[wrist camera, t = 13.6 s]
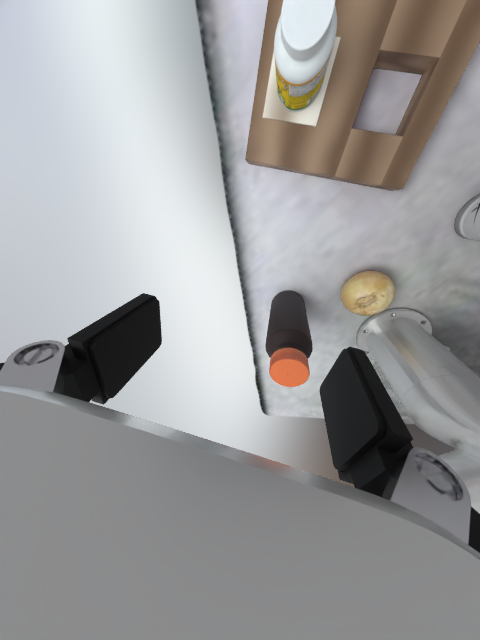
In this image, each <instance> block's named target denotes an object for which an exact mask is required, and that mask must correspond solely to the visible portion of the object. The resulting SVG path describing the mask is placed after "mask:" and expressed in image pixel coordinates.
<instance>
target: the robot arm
mask: <svg viewBox="0 0 480 640" xmlns="http://www.w3.org/2000/svg"><path fill="white" fill-rule="evenodd" d="M68 342H69V344H68V345H66V346H64V345H63V344H62V343H61V342H58V341H51V340H48V341H40V342H35V343H32V344H29V345H26V346H24V347H21V348H19V349H18V350H16V351H15V352H13V353H12V354H11V355H10V356H9V357H8V359H7V360H6V362H5V363H0V640H480V377H479V376H478V375H477V374H476V373H474V372H473V371H472V370H471V369H470V368H469V367H467V366H466V365H465V364H464V363H463V362H462V361H461V360H459V359H458V358H457V357H456V356H455V355H454V354H452V353H451V352H450V351H449V350H450V348H449V347H448V346H445V345H442V344H441V343H440V342H439V341H437V340H436V339H435V338H434V337H433V336H432V326H431V324H430V322H429V320H428V319H427V318H426V317H425V316H423V315H422V314H420V313H418V312H416V311H414V310H410V309H391V310H386V311H383V312H381V313H378V314H376V315H374V316H372V317H371V318H370V319H368V320H367V321H366V322H365V323H364V324H363V325H362V326H361V328H360V329H359V331H358V334H357V344H358V347H359V349H357V348H353V347H349V348H347V349H343V350H342V352H341V354H340V355H339V357H338V358H337V360H336V362H335V363H334V365H333V367H332V368H331V370H330V372H329V373H328V375H327V376H326V378H325V380H324V381H323V383H322V385H321V387H320V396H321V401H322V407H323V412H324V417H325V422H326V427H327V433H328V439H329V444H330V449H331V454H332V460H333V464H334V467H335V468H336V469H338V473H339V478H340V480H343V481H346V482H349V483H352V484H354V486H355V488H353V487H351V486H348V485H345V484H342V483H339V482H336V481H333V480H330V479H327V478H325V477H322V476H319V475H315V474H312V473H309V472H306V471H303V470H300V469H297V468H294V467H290V466H288V465H285V464H281V463H279V462H275V461H272V460H269V459H266V458H263V457H260V456H257V455H254V454H251V453H247V452H244V451H241V450H238V449H235V448H232V447H229V446H226V445H223V444H220V443H216V442H213V441H210V440H207V439H204V438H200V437H198V436H194V435H191V434H188V433H185V432H182V431H179V430H175V429H172V428H169V427H166V426H163V425H160V424H156V423H153V422H150V421H147V420H144V419H141V418H137V417H134V416H131V415H128V414H125V413H122V412H118V411H115V410H112V409H109V408H105V407H102V406H99V405H95V404H92V403H89V401H90V400H91V399H92V401H94V402H97V403H101V404H105V403H106V402H107V400H108V399H109V398H113V397H114V396H115V395H116V394H117V393H118V392H119V391H120V390H121V389H122V388H123V387H124V386H125V384H126V383H127V382H128V381H129V380H130V379H131V378H132V377H133V376H134V375H135V373H136V372H137V371H138V370H139V369H140V368H141V367H142V366H143V365H144V364H145V362H146V361H147V360H148V359H149V358H150V357H151V356H152V355H153V354H154V352H155V351H156V350H157V349H158V348H159V347H160V345H161V342H162V338H161V322H160V306H159V301H158V300H157V299H156V297H155V296H152V295H148V294H144V293H143V294H141V295H140V296H138V297H136V298H134V299H133V300H131V301H129V302H128V303H126V304H124V305H123V306H121V307H119V308H118V309H116V310H114V311H113V312H111V313H109V314H107V315H106V316H104V317H102V318H101V319H99V320H97V321H96V322H94V323H92V324H91V325H89V326H87V327H86V328H84V329H82V330H81V331H79V332H77V333H76V334H74V335H72V336H71V337H69V338H68ZM368 358H371V359H373V360H376V362H377V363H378V365H379V367H380V368H381V370H382V372H383V374H384V375H385V377H386V379H387V380H388V382H389V384H390V385H391V387H392V389H393V390H394V392H395V394H396V395H397V397H398V399H399V400H400V402H401V404H402V405H403V407H404V409H405V410H406V412H407V414H408V415H409V417H410V418H411V419H412V421H413V422H414V423H415V424H416V425H417V426H418V427H419V428H421V429H422V430H423V431H425V432H426V433H428V434H429V435H431V436H433V437H434V438H436V439H438V440H440V441H442V442H444V443H446V444H448V445H450V446H452V447H455V450H453V451H452V452H449V453H446V454H442V455H441V456H437V455H435V454H434V453H432V452H430V451H428V450H425V449H422V448H413V447H412V444H411V442H410V441H412V440H413V438H412V436H411V435H410V433H409V431H408V429H407V427H406V425H405V423H404V422H403V420H402V418H401V416H400V414H399V413H398V411H397V409H396V407H395V405H394V404H393V402H392V400H391V398H390V396H389V395H388V393H387V391H386V389H385V387H384V386H383V384H382V382H381V380H380V378H379V377H378V375H377V373H376V371H375V369H374V368H373V366H372V364H371V362H370V360H369V359H368Z"/></svg>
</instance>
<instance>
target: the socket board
mask: <svg viewBox="0 0 480 640" xmlns="http://www.w3.org/2000/svg"><path fill="white" fill-rule="evenodd" d="M282 4H283V0H268V7H267V14H266V21H265V28H264V34H263V41H262V48H261V55H260V62H259V69H258V76H257V83H256V90H255V97H254V103H253V110H252V117H251V124H250V131H249V138H248V145H247V152H246V159H245V160H246V161H247V162H248V163H249V164H253V165H258V166H264V167H269V168H274V169H280V170H285V171H290V172H295V173H301V174H306V175H311V176H317V177H322V178H327V179H333V180H338V181H343V182H348V183H354V184H359V185H364V186H370V187H375V188H380V189H386V190H391V191H393V190H399V189H403V187H404V185H405V183H406V181H407V179H408V178H409V176H410V174H411V172H412V170H413V168H414V166H415V164H416V162H417V160H418V158H419V156H420V155H421V153H422V151H423V149H424V147H425V145H426V143H427V141H428V139H429V137H430V135H431V133H432V132H433V130H434V128H435V126H436V124H437V122H438V120H439V118H440V116H441V114H442V112H443V111H444V109H445V107H446V105H447V103H448V101H449V99H450V97H451V95H452V93H453V91H454V89H455V88H456V86H457V84H458V82H459V80H460V78H461V76H462V74H463V72H464V70H465V68H466V67H467V65H468V63H469V61H470V59H471V57H472V55H473V53H474V51H475V49H476V47H477V45H478V44H479V42H480V0H335V7H336V12H337V31H336V37H335V41H334V45H333V49H332V53H331V56H330V59H329V63H328V66H327V70H326V73H325V77H324V81H323V84H322V87H321V89H320V92H319V94H318V95H317V97H316V99H315V100H314V101H313V103H312V104H311V105H310V106H308V107H307V108H306V109H304V110H302V111H299V112H291V111H289V110H287V109H286V108H285V107H284V106H283V104H282V103H281V101H280V99H279V96H278V92H277V82H276V68H275V55H274V41H275V33H276V28H277V24H278V21H279V18H280V15H281V10H282ZM373 68H378V69H386V70H393V71H400V72H408V73H415V74H422V77H421V79H420V81H419V84H418V86H417V88H416V90H415V92H414V95H413V97H412V99H411V101H410V104H409V106H408V108H407V110H406V112H405V115H404V117H403V119H402V121H401V124H400V126H399V128H398V130H397V132H396V135H390V134H384V133H378V132H372V131H366V130H360V129H354V128H352V127H353V124H354V121H355V118H356V115H357V112H358V110H359V107H360V104H361V101H362V98H363V95H364V93H365V90H366V87H367V84H368V81H369V78H370V76H371V73H372V70H373Z"/></svg>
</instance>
